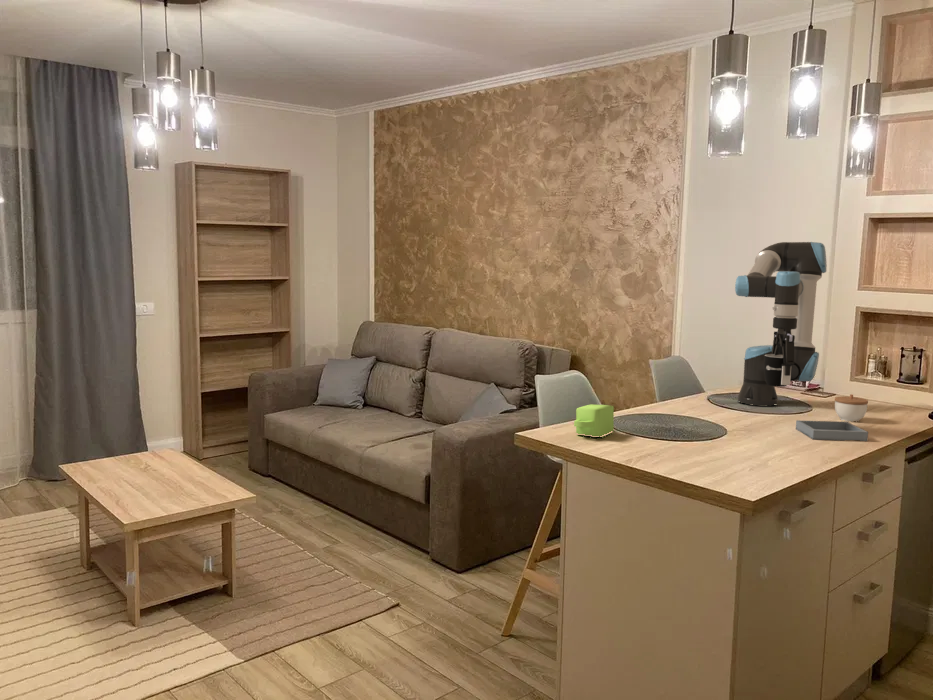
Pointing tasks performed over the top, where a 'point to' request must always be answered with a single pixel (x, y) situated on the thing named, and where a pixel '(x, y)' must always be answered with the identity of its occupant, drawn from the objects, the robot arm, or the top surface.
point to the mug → (776, 370)
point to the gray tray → (831, 430)
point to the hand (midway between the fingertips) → (780, 382)
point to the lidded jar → (850, 408)
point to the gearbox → (594, 419)
